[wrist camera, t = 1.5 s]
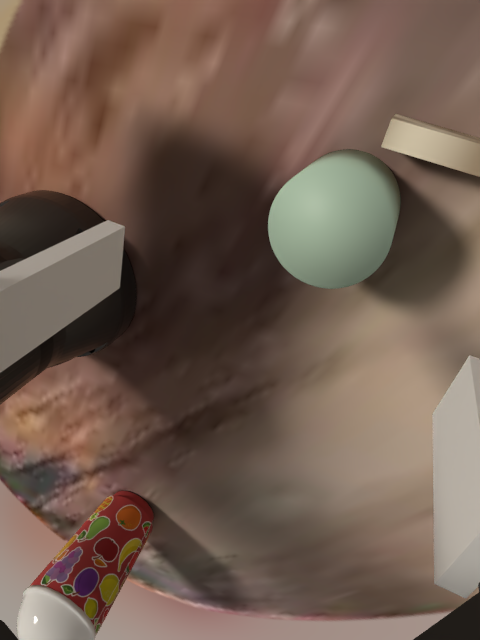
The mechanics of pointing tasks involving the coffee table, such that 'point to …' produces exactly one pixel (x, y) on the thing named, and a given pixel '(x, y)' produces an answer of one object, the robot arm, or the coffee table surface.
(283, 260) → the pale green rounded lump
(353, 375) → the coffee table surface
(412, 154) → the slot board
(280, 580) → the coffee table surface
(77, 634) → the smoothie
